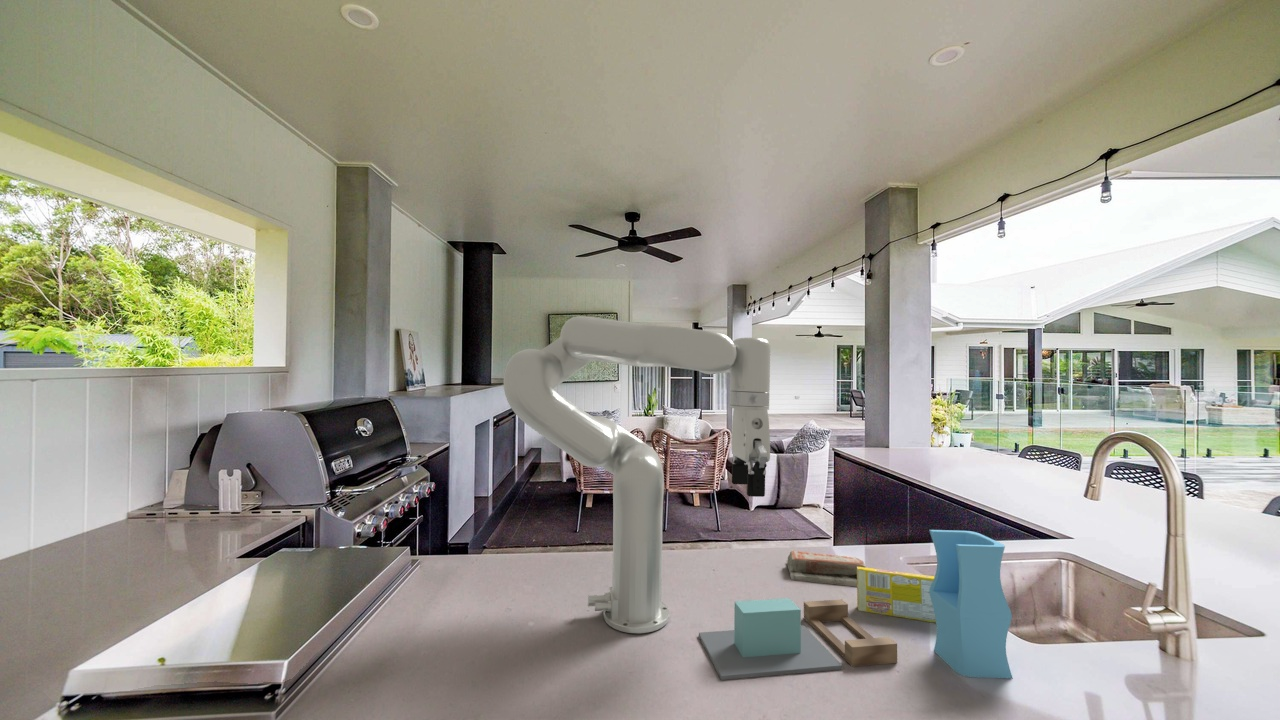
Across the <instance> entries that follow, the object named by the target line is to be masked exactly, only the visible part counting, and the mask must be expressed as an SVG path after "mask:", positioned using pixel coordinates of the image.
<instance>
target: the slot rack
mask: <svg viewBox="0 0 1280 720" xmlns="http://www.w3.org/2000/svg"><path fill="white" fill-rule="evenodd" d="M803 619H804V620H805V621H806V622H807V623H808V624H809V625H810V626H811V627H812V628H813V629H815V631H816V632H817V633H818V635H820V636H821V637H822V638H823V639H824V640H825V641H826V642H827V643H828V644H829V645H830V646H831V647H832V648H833V649H834V650H835V651H836V652H837V653H838V654H839V655H840V656H841V657H843V659H844V660H845V661H846V662H847V663H848V664H850V666H851V667H852V668H853V667H862V666H871V665H872V666H874V665H875V666H876V665H885V664H897V663H898V643H897V642H895V640H893V639H892V638H891V637H890V636H882V637H873V635H871V633H869V632H868V631H866V630H865V629H864V628H863V627H861V626H860V625H859V624H858V623H857V622H856V621H854V619H852V618H851V617H850V616H849V604H848V603H847V602H846V601H845V600H843V598H842V599H827V600H826V599H825V600H824V599H823V600H813V601H811V600H810V601H809V600H808V601H803ZM831 622H841V623H842V624H844V625H845V626H846V628H848V629H849V630H850V631H852V632H853V633H854V634H855V635H856V636H857V637H859V638H856V639H846V640H844V643H843V642H842V641H841V640H840V639H839V638H838V637H837V636H836V635H835V634H834V633H833V632H831V630H830V629H828V627H826V626H825V625H824V624H823V623H831Z"/></svg>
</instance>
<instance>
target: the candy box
mask: <svg viewBox="0 0 1280 720" xmlns="http://www.w3.org/2000/svg"><path fill="white" fill-rule="evenodd" d="M865 567H866V566H865ZM865 567H857V586H856V588H857V589H856V593H857V599H856V601H857V603H856V605H857V610H858V611H859V612H863V613H864V612H866V613H872V614H878V615H885V616H890V617H895V618H903V619H910V620H914V621H915V620H916V621H921V622H929V623H934V624H937V623H936V617H935V612H934V608H933V604H932V601H931V598H930V592H929V589H930V587H931V584H932V582H933V580H934V577H935V575H925V574H918V573H911V572H910V573H909V572H902V571H895V570H887V569H879V568H871V567H866V568H865Z"/></svg>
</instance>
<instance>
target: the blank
mask: <svg viewBox="0 0 1280 720" xmlns="http://www.w3.org/2000/svg"><path fill="white" fill-rule="evenodd" d="M801 611H802V610H801V608H800V607H799V606H798V605H797V604H796V603H795V602H794V601H793V600H792V599H791V598H790V597H786V598H771V599H753V600H752V599H751V600H736V601H734V614H733V615H734V618H733V619H734V623H733V624H734V628H733V630H734V644H735V645H736V647H737V648H738V650H739V652H740V653H741V655H742V656H743V657H754V656H767V655H780V654H793V653H801V625H802V621H801V620H802V612H801Z"/></svg>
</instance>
